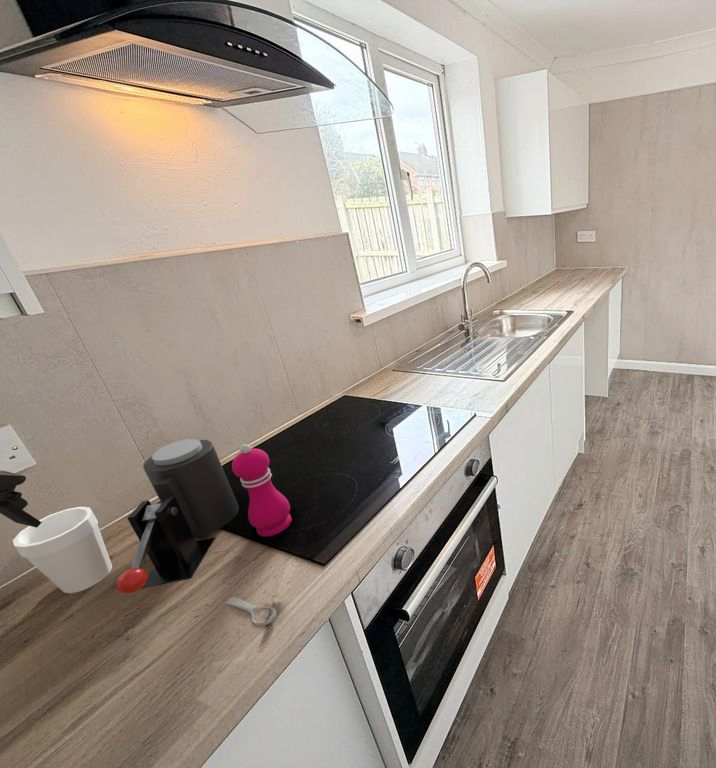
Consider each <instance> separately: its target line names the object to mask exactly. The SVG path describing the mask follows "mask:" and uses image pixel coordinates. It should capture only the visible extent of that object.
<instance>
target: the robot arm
mask: <svg viewBox="0 0 716 768" xmlns="http://www.w3.org/2000/svg"><path fill="white" fill-rule="evenodd" d="M26 479H27V477H26V475H22V474H19V473H15V472H11V471H7V470H0V514H1V515H2V516H4V517H6V518H7V519H9V520H10V521H13V523H15V524H19V525H24V526H27V527H28V526H32V527H36V528H37V527H38V526H39V525H40V524H41V523H42V522H41V521H39V520H40V519H38V518H36V517H34V516H32V515H31V514H30V513H28V512H27V511H26V510H24V509H25V508H26V507H27V506H28V505H29V502H28V501H27V500H26V499H25V498H23V497H22V496H23V493H22V492H20V491H17V490H16V488H17V486H20V485H22V484H24V483H25V481H26Z"/></svg>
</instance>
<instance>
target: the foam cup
mask: <svg viewBox="0 0 716 768" xmlns="http://www.w3.org/2000/svg"><path fill="white" fill-rule="evenodd" d="M38 520H39V521H41V522H42V523H41V524H40V525H39V526H38V527H37V528H36V527H32V526H28V525H27V527H25V528H24V529H22V530H21V531H19V532H18V534H17V535H16V536H15V537H14V538H13V539H12V543H13V547H14V548H15V549H16V551H17V552H18V553H19V555H20V556H21V557H22V558H25V559H26V560H28V561H29V562H30V563H31V564H32V565H33V566H34V567H35V568H36V569H37V570H38V571H40V572H41V574H43V575H44V576H45V577H46V578H47V579H49V581H51V582H52V583H53V584H54V586H56V587H57V588H58V589H59V590H61V592H63V593H65V594H75V593H79V592H82V591H84V590H87V589H90V588H91V587H94V586H95V585H96V584H98V583H99V582H101V581H103V580H104V579H105V578H106V577H107V576H108V575H109V574H110V573H111V571H112V569H113V564H112V561H111V559H110V556H109V553H108V550H107V548H106V547H107V546H106V545H105V541H104V539H103V538H104V537H103V536H102V533H101V530H100V527H99V525H98V524H99V521H98V519H97V517H96V515H95V514H94V512H93V510H92V509H91V508H90V507H89V506H76V507H71V508H66V509H63V510H60V511H57V512H55V513H51V514H49V515H47V516H45V517H43V518H41V519H38Z"/></svg>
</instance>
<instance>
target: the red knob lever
mask: <svg viewBox="0 0 716 768" xmlns="http://www.w3.org/2000/svg"><path fill="white" fill-rule="evenodd" d="M161 505H162V503H161V502H159V503H153V504H151V505H148V506H147V507H146V510H145V513H144V515H143V518H142V521H143V522H144V523H146V524H147V525H146V528H145V531H144V534H143V536H142V539H141V542H140V541H139V545H138V547H137V550H136V553H135V556H134V558H133V561H132V564H131V566H130V568H129V569H126V570H125V571H123V572H122V573H121V574H119V576H118V577H117V579H116V581H115V582H116V583H115V585H116V586H115V587H116V589H117V591H119V592H120V593H122V594H133V593H136V592H138V591H140V590H141V588H142V587H143V586H144V585H145V584H146V582H147V578H148V576H149V575H148V573H147V571H146V570H145V569H143V568H144V564H145V562H146V559H147V556H148V554H147V553H148V551H149V548H150V545H151V542H152V539H153V536H154V533H155V530H156V528H157V525H160V523H159V521H158V519H157V517H156V515H155V514H154V513H155V512H156V510H157V509H158V508H159V507H160V506H161ZM142 589H143V588H142Z"/></svg>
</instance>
